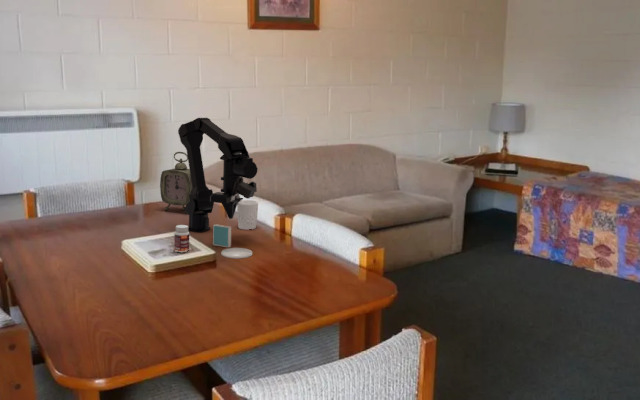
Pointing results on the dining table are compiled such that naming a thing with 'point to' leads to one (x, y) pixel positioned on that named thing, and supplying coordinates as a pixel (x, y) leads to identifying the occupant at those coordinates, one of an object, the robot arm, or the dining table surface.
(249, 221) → the white cup
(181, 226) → the pill bottle
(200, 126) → the robot arm
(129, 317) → the dining table surface
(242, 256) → the coaster
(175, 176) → the tabletop clock
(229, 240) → the tile
